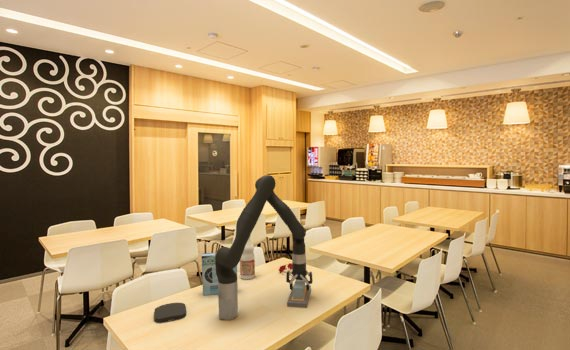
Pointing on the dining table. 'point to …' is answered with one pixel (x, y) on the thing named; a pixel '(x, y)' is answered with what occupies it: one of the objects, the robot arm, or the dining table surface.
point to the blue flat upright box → (210, 274)
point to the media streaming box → (170, 312)
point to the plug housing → (298, 289)
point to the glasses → (286, 268)
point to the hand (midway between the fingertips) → (299, 290)
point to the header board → (299, 302)
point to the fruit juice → (247, 262)
